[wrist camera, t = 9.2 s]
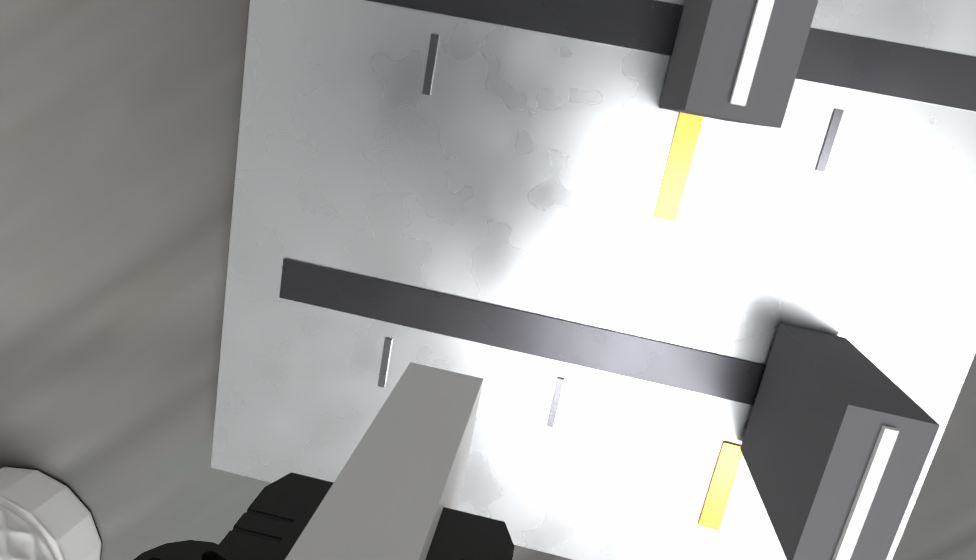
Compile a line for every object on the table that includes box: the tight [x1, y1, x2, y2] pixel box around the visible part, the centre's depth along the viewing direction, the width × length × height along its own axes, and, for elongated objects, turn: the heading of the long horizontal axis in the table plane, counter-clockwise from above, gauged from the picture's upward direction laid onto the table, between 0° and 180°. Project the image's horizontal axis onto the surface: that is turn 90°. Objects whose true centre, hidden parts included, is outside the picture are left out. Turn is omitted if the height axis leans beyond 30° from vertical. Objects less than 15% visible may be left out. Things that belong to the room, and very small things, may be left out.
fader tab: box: [740, 324, 940, 560], centre depth 19 cm, size 4×2×6 cm, turn 169°
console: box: [211, 0, 976, 560], centre depth 23 cm, size 22×24×2 cm
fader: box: [659, 0, 818, 128], centre depth 17 cm, size 4×2×6 cm, turn 169°
